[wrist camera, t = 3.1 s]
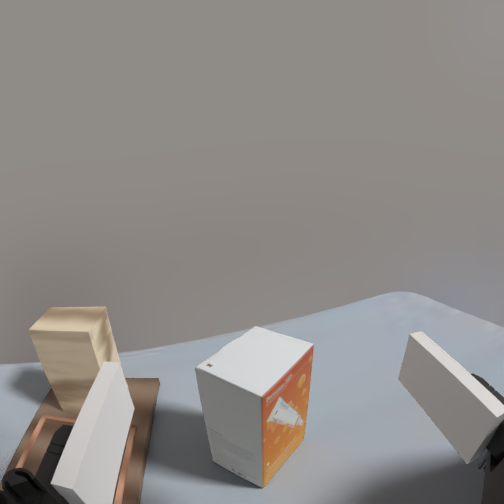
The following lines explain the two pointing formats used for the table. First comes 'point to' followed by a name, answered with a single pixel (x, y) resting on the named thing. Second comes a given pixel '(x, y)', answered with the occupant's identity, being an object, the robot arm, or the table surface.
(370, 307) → the table surface
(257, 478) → the small box
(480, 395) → the robot arm
